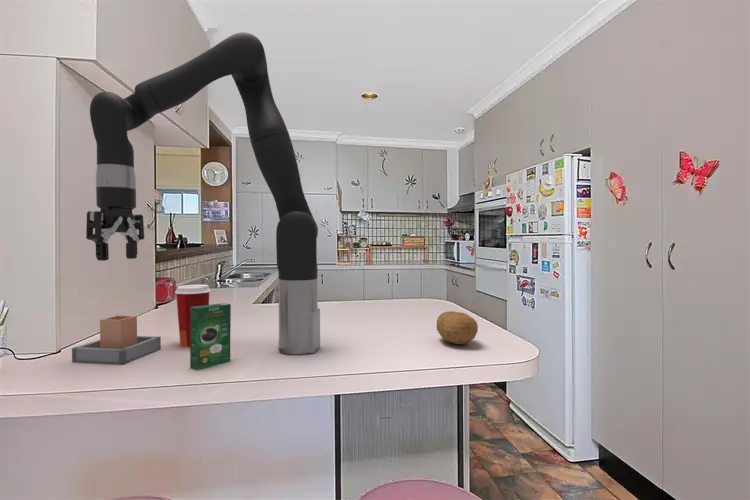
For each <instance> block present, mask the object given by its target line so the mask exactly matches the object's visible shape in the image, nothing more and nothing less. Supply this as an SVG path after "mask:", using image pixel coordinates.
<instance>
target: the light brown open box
mask: <svg viewBox="0 0 750 500" xmlns="http://www.w3.org/2000/svg"><path fill="white" fill-rule="evenodd" d="M99 335H100V337H99V338H100V339H99V340H100V348H110V349H124V348H126V347H129V346H132V345H135V344H137V336H138V317H137V315H115V316H109V317H106V318H102V319H99Z"/></svg>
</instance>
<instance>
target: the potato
mask: <svg viewBox="0 0 750 500" xmlns="http://www.w3.org/2000/svg"><path fill="white" fill-rule="evenodd" d="M478 328H479V326H478V323H477V321H476V320H475V318H473V317H472V316H470V315H469V314H467V313H465V312H460V311H459V312H458V311H454V310H453V311H452V310H451V311H444V312H442V313H441V314H439V316H438V317H437V319H436V331H437V333H438V334H439V336H440V337H441V338H442V340H445V341H447V342H449V343H451V344H452V345H466V344H468V343H469V342H471V341H472V340H474V339H475V338H476V336H477V334H478Z"/></svg>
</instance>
